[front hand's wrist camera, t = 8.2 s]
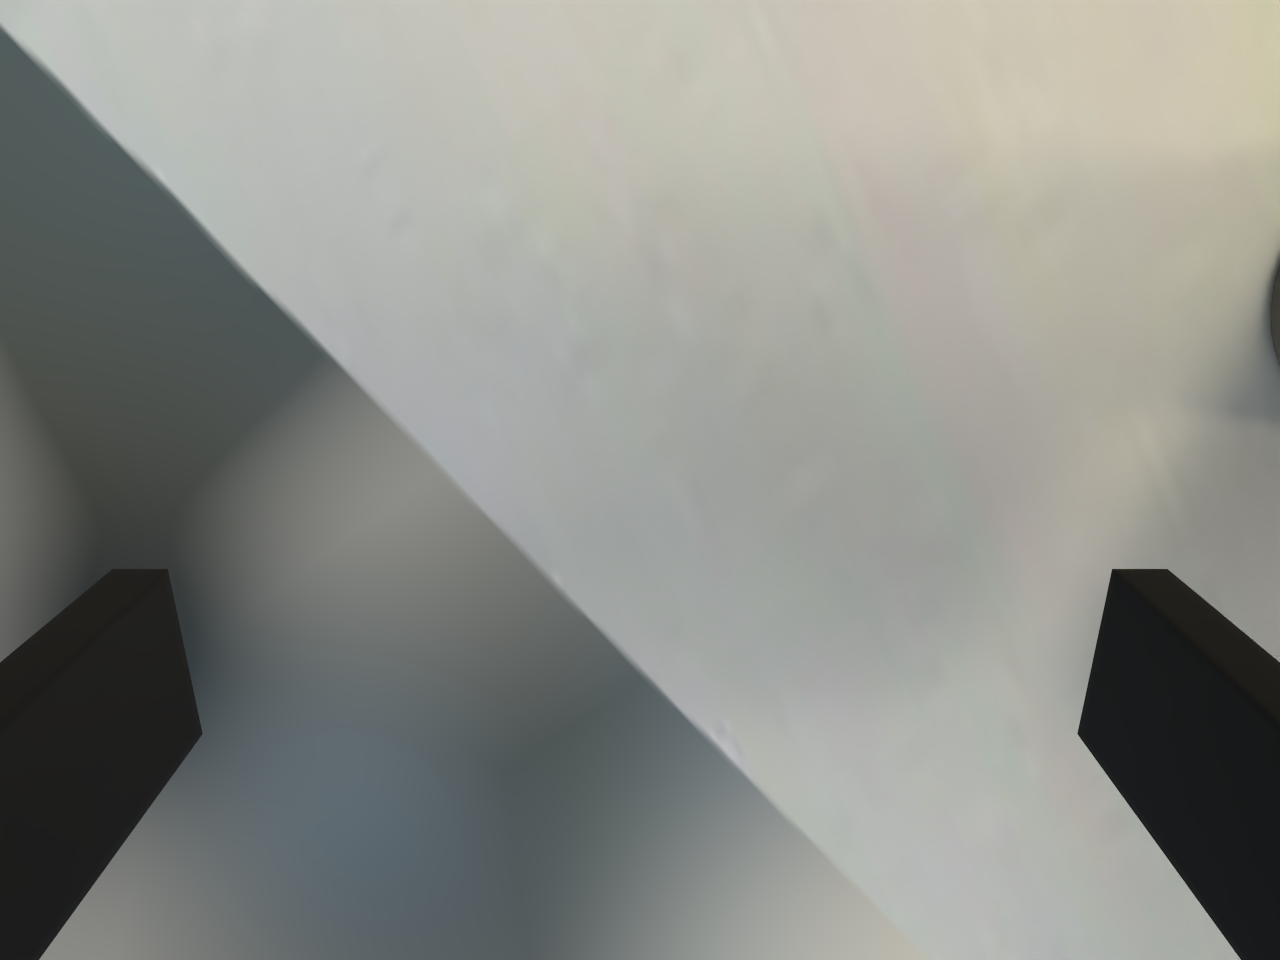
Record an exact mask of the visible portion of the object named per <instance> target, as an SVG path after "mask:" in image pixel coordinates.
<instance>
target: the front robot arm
mask: <svg viewBox="0 0 1280 960" xmlns="http://www.w3.org/2000/svg"><path fill="white" fill-rule="evenodd" d="M1271 328H1272V337H1273V343H1274V348H1275V352H1276V355H1277V358H1278V361H1279V363H1280V269H1279V272H1278V275H1277V279H1276V283H1275V288H1274V293H1273V300H1272V309H1271ZM201 735H202V730H201V725H200V720H199V715H198V711H197V706H196V701H195V696H194V692H193V687H192V682H191V677H190V673H189V668H188V663H187V658H186V654H185V649H184V644H183V640H182V635H181V630H180V625H179V621H178V616H177V611H176V607H175V602H174V597H173V592H172V587H171V583H170V578H169V573H168V569H112V570H111V571H110V572H108V573H107V574H106V575H105V576H104V577H103V578H101V579H100V580H99V581H98V582H96V583H95V584H94V585H93V586H92V587H90V588H89V589H88V590H87V591H86V592H84V593H83V594H82V595H81V596H80V597H78V598H77V599H76V600H75V601H74V602H72V603H71V604H70V605H69V606H68V607H66V608H65V609H64V610H63V611H62V612H60V613H59V614H58V615H57V616H56V617H54V618H53V619H52V620H51V621H50V622H48V623H47V624H46V625H45V626H44V627H42V628H41V629H40V630H39V631H38V632H36V633H35V634H34V635H33V636H32V637H30V638H29V639H28V640H27V641H26V642H24V643H23V644H22V645H21V646H20V647H18V648H17V649H16V650H15V651H14V652H12V653H11V654H10V655H9V656H8V657H6V658H5V659H4V660H3V661H2V662H0V960H39V959H40V957H41V956H42V955H43V953H44V952H45V951H46V949H47V948H48V946H49V945H50V944H51V942H52V941H53V940H54V938H55V937H56V935H57V934H58V933H59V931H60V930H61V928H62V927H63V926H64V924H65V923H66V921H67V920H68V919H69V917H70V916H71V915H72V913H73V912H74V911H75V909H76V908H77V906H78V905H79V904H80V902H81V901H82V900H83V898H84V897H85V895H86V894H87V893H88V891H89V890H90V888H91V887H92V886H93V884H94V883H95V882H96V880H97V879H98V877H99V876H100V875H101V873H102V872H103V871H104V869H105V868H106V866H107V865H108V864H109V862H110V861H111V859H112V858H113V857H114V855H115V854H116V853H117V851H118V850H119V848H120V847H121V846H122V844H123V843H124V842H125V840H126V839H127V837H128V836H129V835H130V833H131V832H132V830H133V829H134V828H135V826H136V825H137V824H138V822H139V821H140V819H141V818H142V817H143V815H144V814H145V813H146V811H147V810H148V808H149V807H150V806H151V804H152V803H153V801H154V800H155V799H156V797H157V796H158V795H159V793H160V792H161V790H162V789H163V788H164V786H165V785H166V784H167V782H168V781H169V779H170V778H171V777H172V775H173V774H174V773H175V771H176V770H177V768H178V767H179V766H180V764H181V763H182V761H183V760H184V759H185V757H186V756H187V755H188V753H189V752H190V750H191V749H192V748H193V746H194V745H195V744H196V742H197V741H198V739H199V738H200V737H201ZM1078 735H1079V737H1080V738H1081V739H1082V741H1083V742H1084V744H1085V745H1086V746H1087V748H1088V749H1089V750H1090V752H1091V753H1092V755H1093V756H1094V757H1095V759H1096V760H1097V761H1098V763H1099V764H1100V766H1101V767H1102V768H1103V770H1104V771H1105V773H1106V774H1107V775H1108V777H1109V778H1110V779H1111V781H1112V782H1113V784H1114V785H1115V786H1116V788H1117V789H1118V790H1119V792H1120V793H1121V795H1122V796H1123V797H1124V799H1125V800H1126V802H1127V803H1128V804H1129V806H1130V807H1131V808H1132V810H1133V811H1134V813H1135V814H1136V815H1137V817H1138V818H1139V819H1140V821H1141V822H1142V824H1143V825H1144V826H1145V828H1146V829H1147V830H1148V832H1149V833H1150V835H1151V836H1152V837H1153V839H1154V840H1155V842H1156V843H1157V844H1158V846H1159V847H1160V848H1161V850H1162V851H1163V853H1164V854H1165V855H1166V857H1167V858H1168V859H1169V861H1170V862H1171V864H1172V865H1173V866H1174V868H1175V869H1176V871H1177V872H1178V873H1179V875H1180V876H1181V877H1182V879H1183V880H1184V882H1185V883H1186V884H1187V886H1188V887H1189V888H1190V890H1191V891H1192V893H1193V894H1194V895H1195V897H1196V898H1197V900H1198V901H1199V902H1200V904H1201V905H1202V906H1203V908H1204V909H1205V911H1206V912H1207V913H1208V915H1209V916H1210V917H1211V919H1212V920H1213V922H1214V923H1215V924H1216V926H1217V927H1218V928H1219V930H1220V931H1221V933H1222V934H1223V935H1224V937H1225V938H1226V940H1227V941H1228V942H1229V944H1230V945H1231V946H1232V948H1233V949H1234V951H1235V952H1236V953H1237V955H1238V956H1239V957H1240V959H1241V960H1280V662H1278V661H1277V660H1276V659H1275V658H1274V657H1272V656H1271V655H1270V654H1269V653H1268V652H1266V651H1265V650H1264V649H1263V648H1262V647H1260V646H1259V645H1258V644H1257V643H1256V642H1254V641H1253V640H1252V639H1251V638H1250V637H1248V636H1247V635H1246V634H1245V633H1244V632H1242V631H1241V630H1240V629H1239V628H1238V627H1236V626H1235V625H1234V624H1233V623H1232V622H1230V621H1229V620H1228V619H1227V618H1226V617H1224V616H1223V615H1222V614H1221V613H1220V612H1218V611H1217V610H1216V609H1215V608H1214V607H1212V606H1211V605H1210V604H1209V603H1208V602H1206V601H1205V600H1204V599H1203V598H1202V597H1200V596H1199V595H1198V594H1197V593H1196V592H1194V591H1193V590H1192V589H1191V588H1190V587H1188V586H1187V585H1186V584H1185V583H1184V582H1182V581H1181V580H1180V579H1179V578H1178V577H1176V576H1175V575H1174V574H1173V573H1172V572H1170V571H1169V570H1168V569H1112V573H1111V578H1110V583H1109V587H1108V592H1107V597H1106V602H1105V606H1104V611H1103V616H1102V621H1101V625H1100V630H1099V635H1098V639H1097V644H1096V649H1095V654H1094V658H1093V663H1092V668H1091V673H1090V677H1089V682H1088V687H1087V692H1086V696H1085V701H1084V706H1083V710H1082V715H1081V720H1080V725H1079V729H1078Z"/></svg>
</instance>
